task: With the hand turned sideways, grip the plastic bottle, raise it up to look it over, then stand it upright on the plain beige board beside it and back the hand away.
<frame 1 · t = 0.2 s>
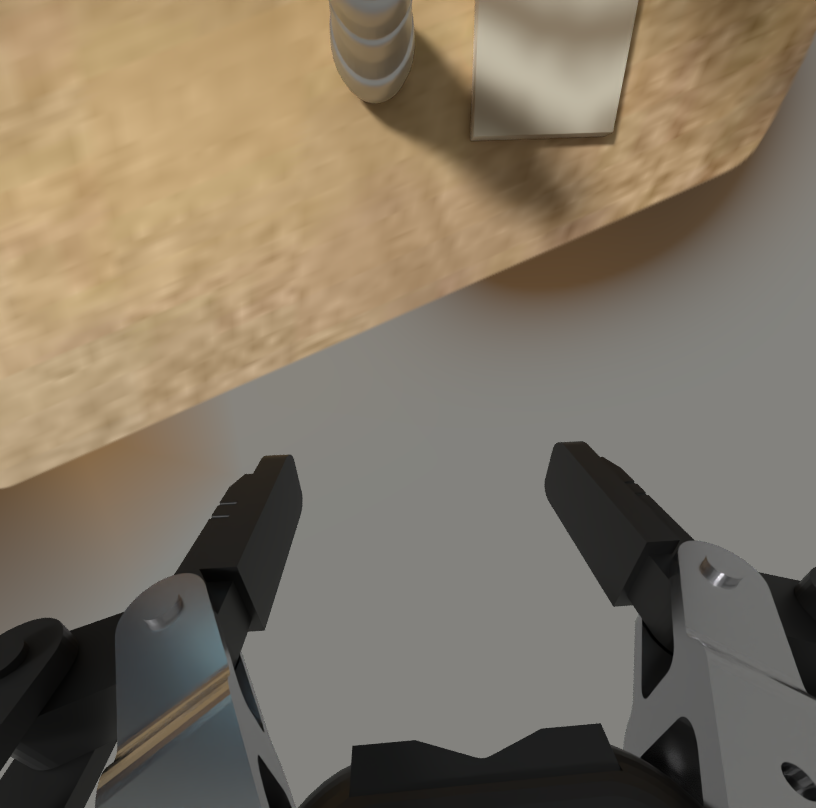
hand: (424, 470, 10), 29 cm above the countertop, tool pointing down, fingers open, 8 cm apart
plastic bottle: (373, 62, 26), on the countertop
plain beige board: (550, 24, 26), on the countertop
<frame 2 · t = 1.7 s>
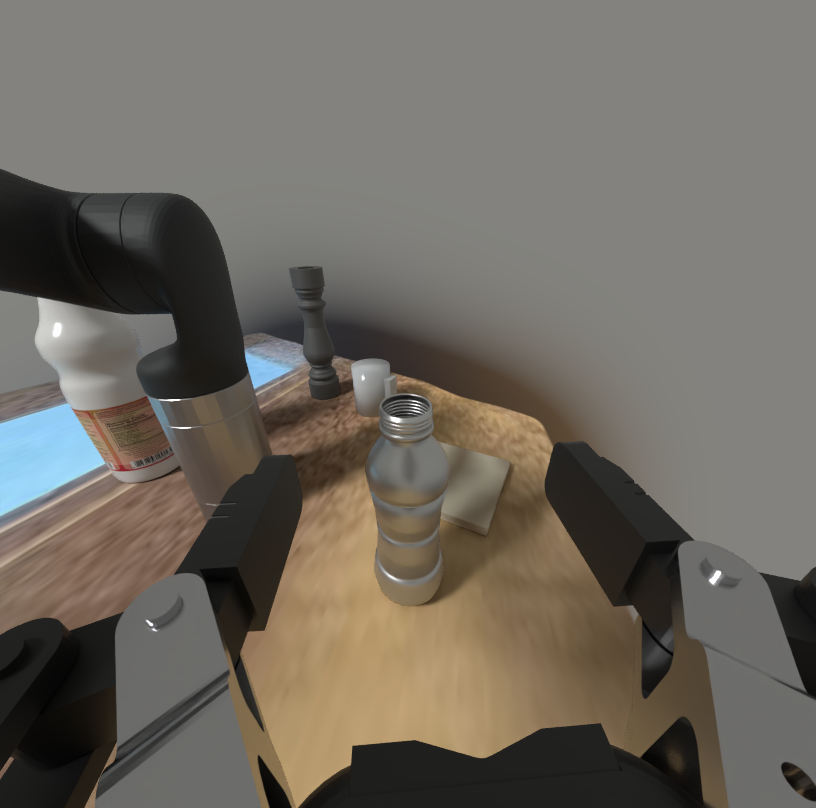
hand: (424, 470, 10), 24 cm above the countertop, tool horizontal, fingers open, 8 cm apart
plastic bottle: (409, 582, 31), on the countertop
plain beige board: (445, 480, 43), on the countertop
fruit juice: (155, 464, 48), on the countertop
grey mug: (373, 407, 61), on the countertop
candle holder: (325, 393, 68), on the countertop
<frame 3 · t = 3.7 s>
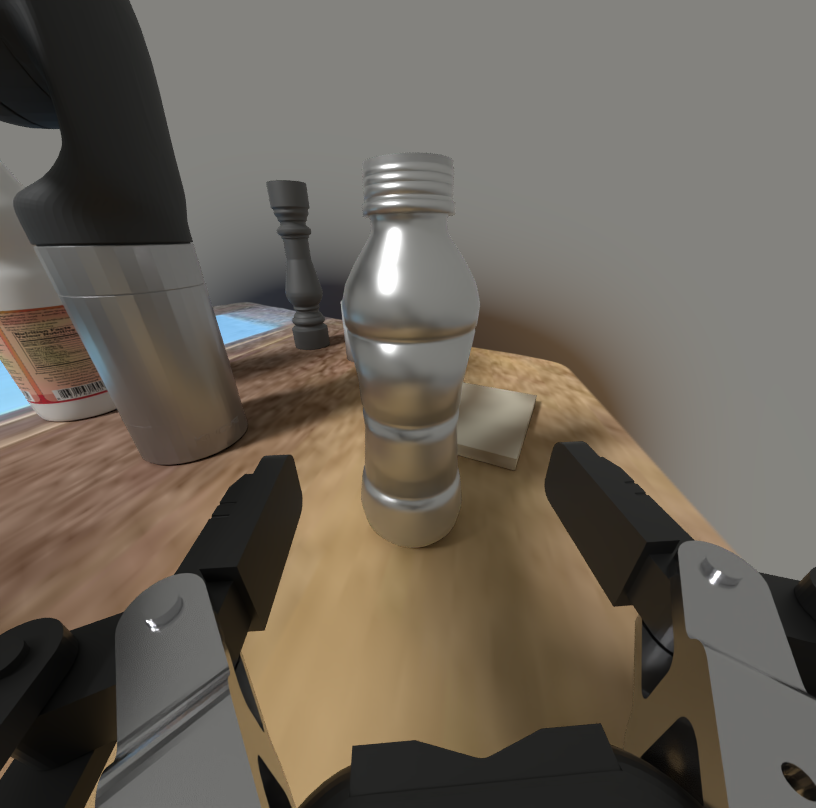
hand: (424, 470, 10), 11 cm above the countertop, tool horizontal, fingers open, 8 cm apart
plastic bottle: (411, 522, 22), on the countertop
plain beige board: (455, 416, 34), on the countertop
fruit juice: (95, 405, 38), on the countertop
candle holder: (313, 345, 59), on the countertop
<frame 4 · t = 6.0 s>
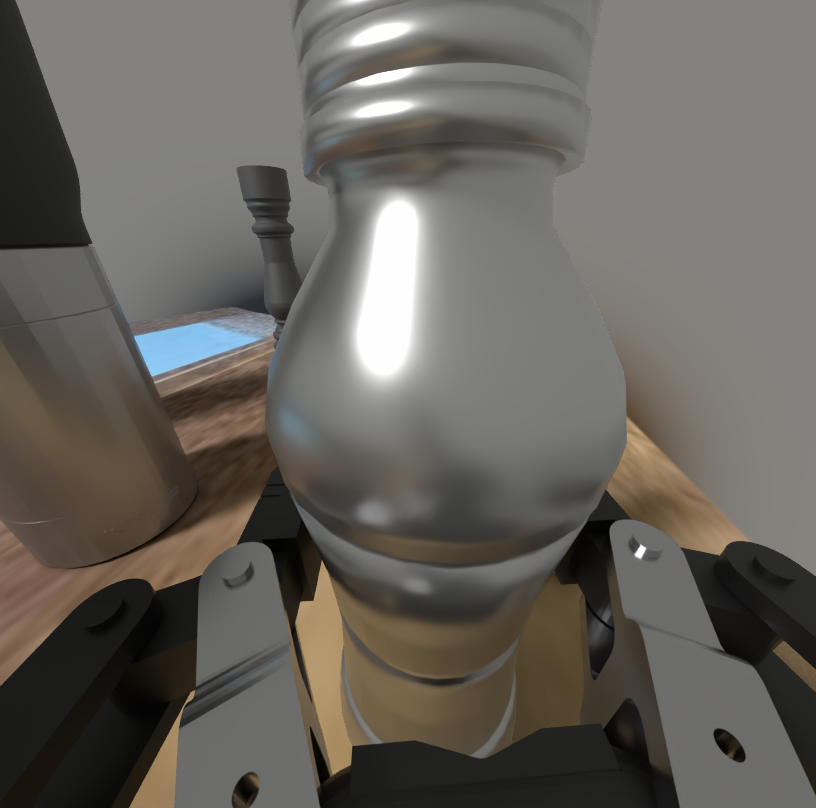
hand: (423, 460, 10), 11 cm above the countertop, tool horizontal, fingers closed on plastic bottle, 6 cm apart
plastic bottle: (426, 703, 13), on the countertop, touching gripper
candle holder: (298, 363, 50), on the countertop
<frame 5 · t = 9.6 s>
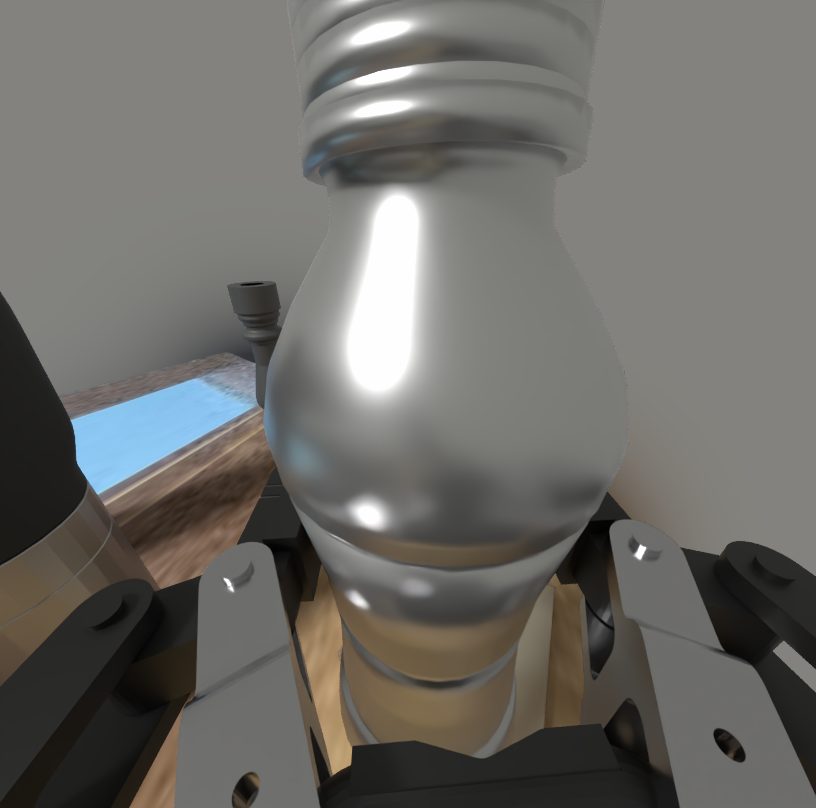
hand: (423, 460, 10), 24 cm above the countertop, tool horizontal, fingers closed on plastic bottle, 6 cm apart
plastic bottle: (425, 704, 13), point 13 cm above the countertop, touching gripper
plain beige board: (454, 624, 27), on the countertop
candle holder: (290, 446, 51), on the countertop
when the fingers open (13 cm above the countertop, at t = 13.3 s): plastic bottle drops 1 cm, resting on plain beige board.
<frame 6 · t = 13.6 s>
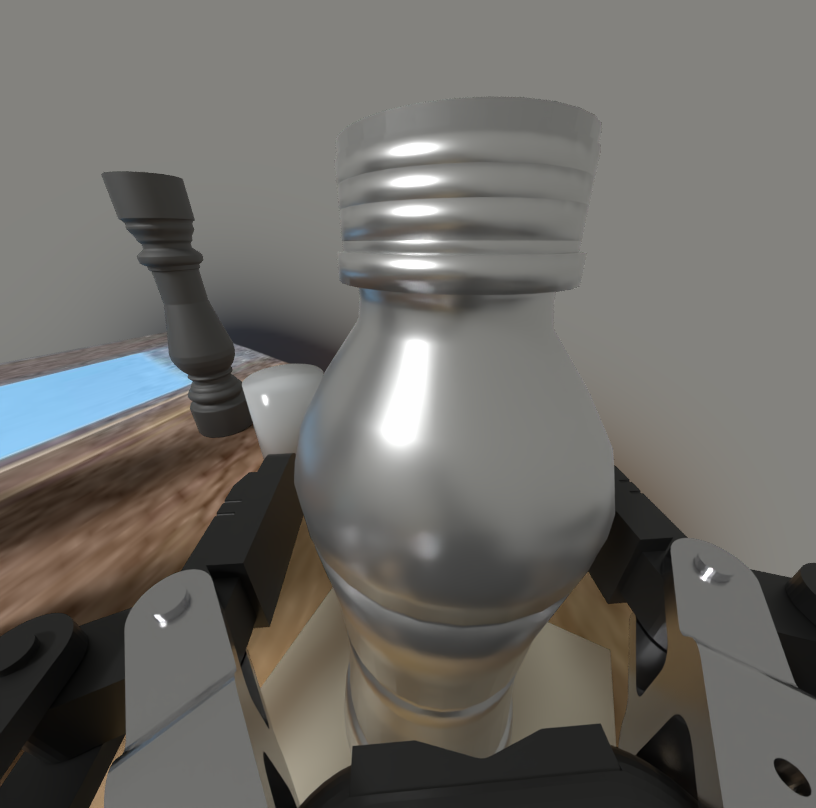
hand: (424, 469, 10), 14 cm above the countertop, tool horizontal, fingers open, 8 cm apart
plastic bottle: (424, 723, 14), point 1 cm above the countertop, touching plain beige board
plain beige board: (425, 726, 14), on the countertop
grey mug: (301, 456, 33), on the countertop
candle holder: (228, 424, 39), on the countertop
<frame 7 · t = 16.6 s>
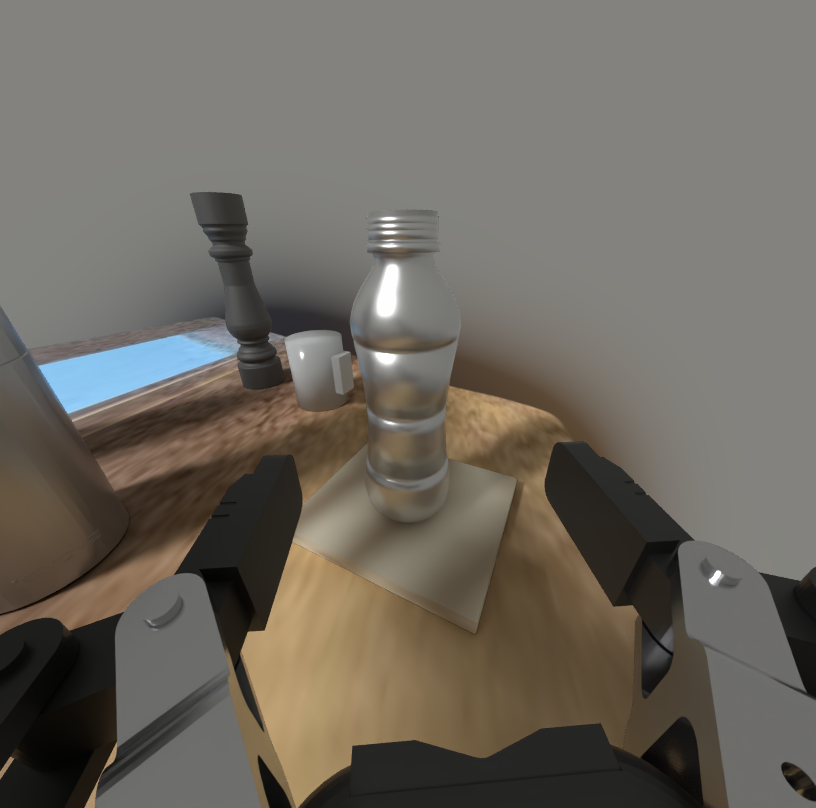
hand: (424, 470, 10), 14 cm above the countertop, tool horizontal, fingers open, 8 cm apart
plastic bottle: (407, 503, 25), point 1 cm above the countertop, touching plain beige board
plain beige board: (408, 511, 26), on the countertop
grey mug: (323, 399, 44), on the countertop
candle holder: (264, 382, 50), on the countertop
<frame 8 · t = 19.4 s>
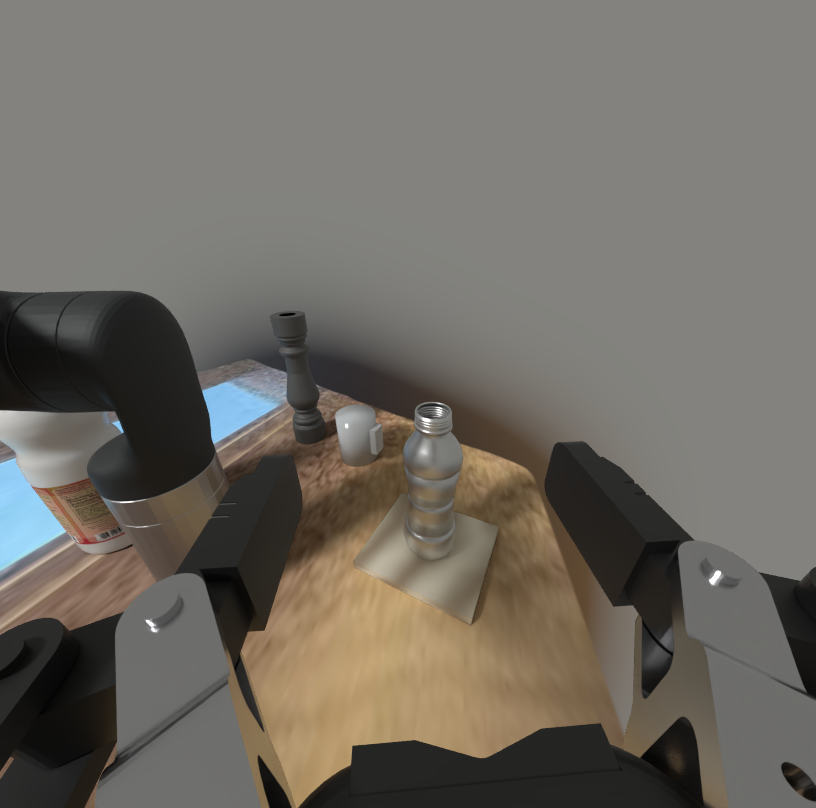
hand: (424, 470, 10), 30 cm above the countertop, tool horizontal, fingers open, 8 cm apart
plastic bottle: (429, 545, 40), point 1 cm above the countertop, touching plain beige board
plain beige board: (429, 549, 41), on the countertop
fruit juice: (125, 528, 45), on the countertop
grey mug: (359, 454, 59), on the countertop
candle holder: (311, 436, 65), on the countertop
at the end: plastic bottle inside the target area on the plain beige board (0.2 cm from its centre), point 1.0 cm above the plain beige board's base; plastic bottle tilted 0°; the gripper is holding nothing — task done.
